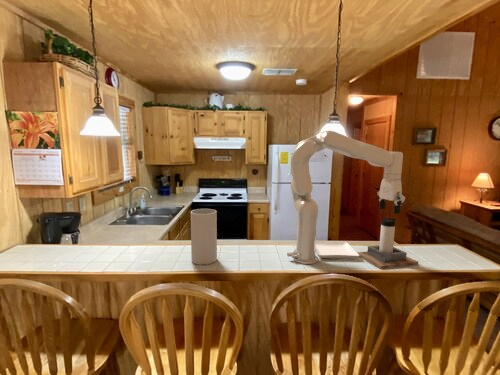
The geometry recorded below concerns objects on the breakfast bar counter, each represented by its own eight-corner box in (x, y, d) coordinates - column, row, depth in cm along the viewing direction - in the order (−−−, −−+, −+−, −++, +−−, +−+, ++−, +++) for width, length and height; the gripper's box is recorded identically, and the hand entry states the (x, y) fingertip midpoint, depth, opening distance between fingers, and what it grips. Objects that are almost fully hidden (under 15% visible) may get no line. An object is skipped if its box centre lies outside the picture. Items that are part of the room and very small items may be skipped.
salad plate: (360, 261, 138) (360, 255, 137) (318, 260, 138) (318, 254, 138) (346, 246, 159) (346, 241, 158) (309, 246, 159) (309, 240, 159)
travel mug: (395, 259, 136) (398, 220, 133) (382, 259, 136) (385, 220, 133) (389, 254, 142) (392, 217, 139) (376, 254, 142) (379, 217, 140)
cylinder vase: (203, 253, 145) (202, 207, 142) (221, 258, 139) (221, 210, 135) (186, 261, 134) (185, 212, 131) (205, 267, 128) (205, 215, 125)
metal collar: (384, 262, 132) (385, 255, 131) (367, 253, 144) (367, 246, 143) (405, 260, 135) (406, 252, 134) (387, 251, 147) (387, 244, 146)
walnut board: (380, 269, 128) (380, 266, 128) (356, 255, 145) (356, 252, 145) (418, 264, 134) (418, 261, 133) (390, 251, 151) (390, 249, 151)
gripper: (373, 175, 141) (370, 207, 143) (399, 178, 124) (396, 215, 127) (385, 175, 143) (382, 207, 145) (413, 178, 126) (409, 214, 129)
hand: (388, 211), depth 136 cm, fingers open, 9 cm apart
